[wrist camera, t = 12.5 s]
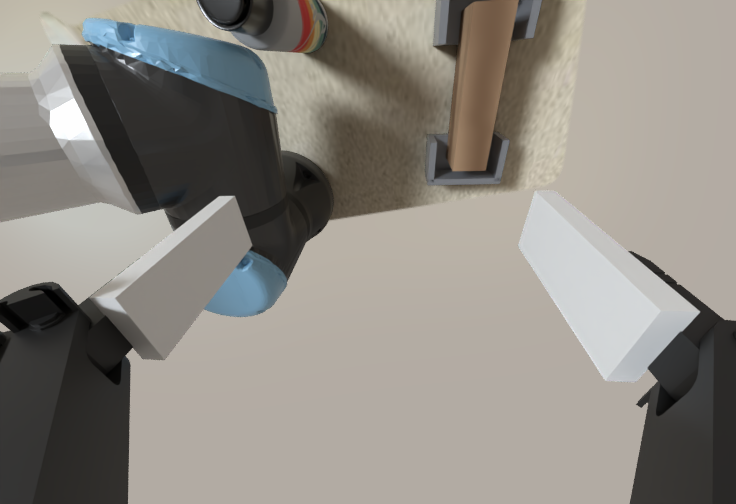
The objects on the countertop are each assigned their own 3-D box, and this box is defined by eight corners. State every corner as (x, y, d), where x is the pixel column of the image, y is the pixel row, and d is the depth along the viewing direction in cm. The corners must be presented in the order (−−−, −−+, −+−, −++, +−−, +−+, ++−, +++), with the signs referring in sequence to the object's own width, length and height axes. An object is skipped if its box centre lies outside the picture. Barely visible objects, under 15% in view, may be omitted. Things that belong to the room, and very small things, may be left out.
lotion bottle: (331, 52, 34) (272, 47, 18) (286, 53, 35) (190, 49, 18) (326, -10, 31) (250, -85, 15) (277, -8, 31) (150, -79, 15)
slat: (445, 157, 40) (452, 171, 35) (461, 10, 30) (474, 1, 26) (474, 156, 39) (485, 170, 34) (499, 7, 30) (519, -2, 25)
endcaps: (424, 173, 42) (427, 185, 38) (437, -19, 30) (443, -30, 26) (489, 171, 41) (499, 183, 37) (530, -27, 29) (551, -40, 25)
